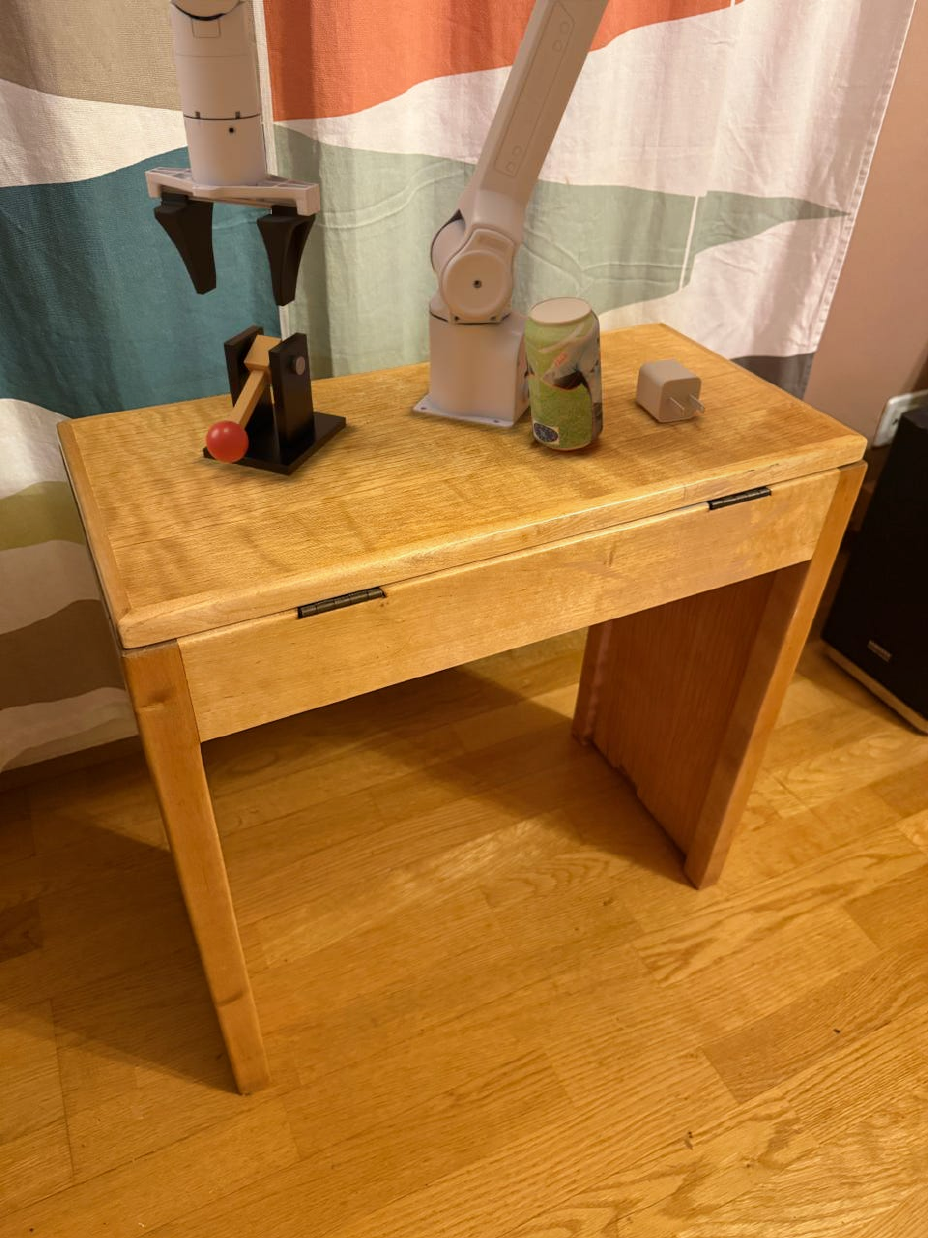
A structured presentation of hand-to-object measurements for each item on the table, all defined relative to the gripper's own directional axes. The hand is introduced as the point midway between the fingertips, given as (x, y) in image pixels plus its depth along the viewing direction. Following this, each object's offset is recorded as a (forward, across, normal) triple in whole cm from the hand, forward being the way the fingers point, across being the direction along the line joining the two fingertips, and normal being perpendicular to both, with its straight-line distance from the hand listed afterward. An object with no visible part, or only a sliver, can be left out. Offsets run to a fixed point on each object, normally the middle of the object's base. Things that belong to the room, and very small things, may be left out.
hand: (245, 296), depth 77 cm
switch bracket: (+10, +5, -5) cm, 13 cm away
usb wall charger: (+11, +35, +13) cm, 39 cm away
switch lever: (+6, +5, -8) cm, 11 cm away
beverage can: (+11, +27, +4) cm, 29 cm away
